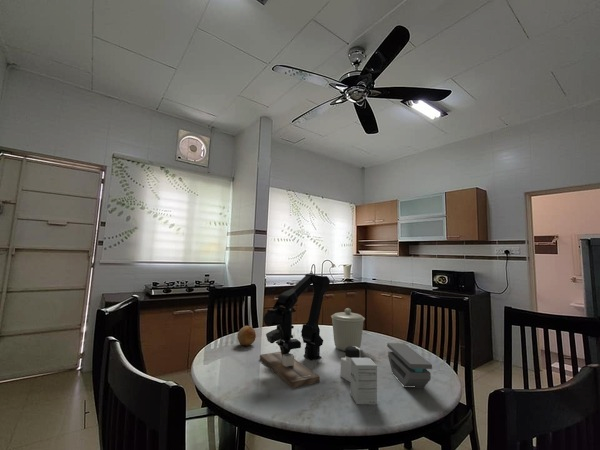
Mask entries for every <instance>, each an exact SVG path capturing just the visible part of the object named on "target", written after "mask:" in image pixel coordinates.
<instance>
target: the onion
mask: <svg viewBox="0 0 600 450" xmlns="http://www.w3.org/2000/svg"><path fill="white" fill-rule="evenodd" d="M236 336H237V338H236V339H237V341H238V343H239V344H240V345H242V346H246V347H248V346H251V345H252V344H254V342H255V341H256V338H257V337H256V336H257V334H256V331H255V329H254V328H253V327H252V326H250V325H244V326H243V327H241V328H240V329H239V331H238V333H237V335H236Z"/></svg>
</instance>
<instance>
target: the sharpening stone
mask: <svg viewBox="0 0 600 450" xmlns="http://www.w3.org/2000/svg"><path fill="white" fill-rule="evenodd" d="M386 347H387V348H388V349H389V350H390V351H387V352H388V353H387V357H388V361H389V365H390V369H391V372H393V374H394V375H395V376H396V377H397V378H398V380H399V381H400V382H401V383H402V384H403V385H404V386H415V387H414V388H416V387H424V388H425V387H426V386H427V384H428V383H429V382H430V381H431V379H432V377H431V376H432V375H431V372H430V371H429V370H432V369H433V364H432V363H431V362H429V361H428V360H426V359H425V358H424V357H423V356H422V355H421V354H419V353H418V352H417V351H415V350H414V349H412V347H410V346H408V344H406V343H400V342H398V343H397V342H387V345H386ZM393 374H392V375H393ZM398 380H397V381H398ZM399 381H398V382H399Z"/></svg>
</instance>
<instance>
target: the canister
mask: <svg viewBox="0 0 600 450" xmlns="http://www.w3.org/2000/svg"><path fill="white" fill-rule="evenodd" d="M330 318H331V321H332V333H333V335H332V336H333V342H334V346H335V348H336V349H338V350H339V351H343V352H345V348H346V347H348V346H356V347H358V348H361V346H362V345H361V344H362V338H363V329H364V321H365V320H366V318H365V317H364V316H363V315H361V314H360V313H355V312H352V309H351V308H349V307H347V308H345V309H344V311H341V312H335V313H334V314H332V315H330Z"/></svg>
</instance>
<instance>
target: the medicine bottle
mask: <svg viewBox="0 0 600 450" xmlns="http://www.w3.org/2000/svg"><path fill="white" fill-rule="evenodd" d="M360 348H361V347H360ZM360 348H358V347H356V346H348V347H346V348H345V351H344V352H345V354H344V355H345V356H344V357H341V358H340V377H342V379H344V380H345V381H347V382H349V383H350V382H351V358H361V349H360Z"/></svg>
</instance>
